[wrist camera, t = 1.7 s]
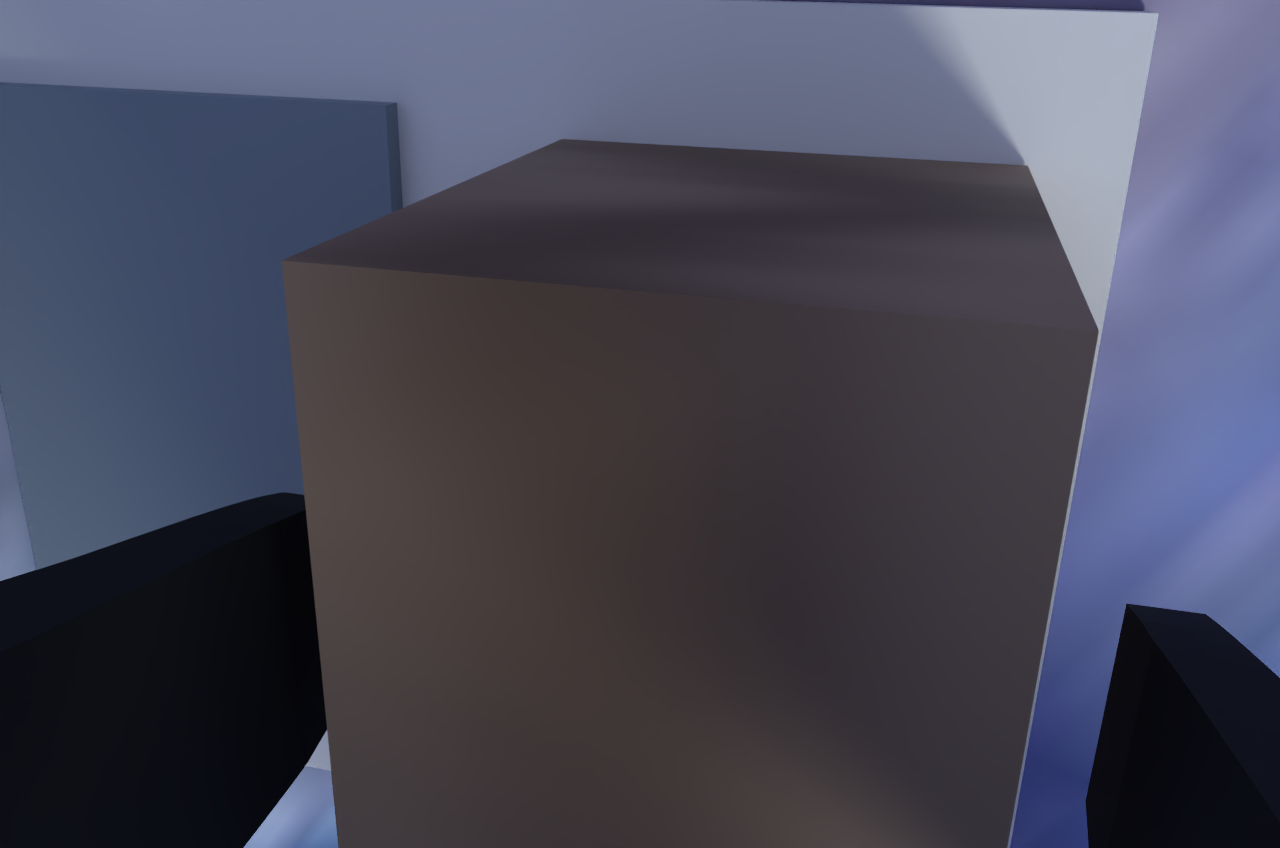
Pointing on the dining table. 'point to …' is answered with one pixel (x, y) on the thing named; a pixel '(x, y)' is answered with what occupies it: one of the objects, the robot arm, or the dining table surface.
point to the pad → (164, 293)
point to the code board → (659, 87)
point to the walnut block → (687, 498)
